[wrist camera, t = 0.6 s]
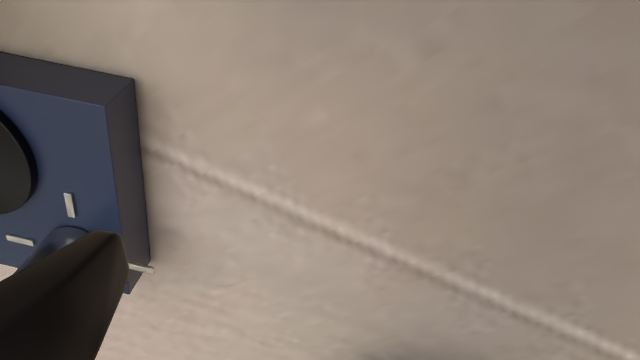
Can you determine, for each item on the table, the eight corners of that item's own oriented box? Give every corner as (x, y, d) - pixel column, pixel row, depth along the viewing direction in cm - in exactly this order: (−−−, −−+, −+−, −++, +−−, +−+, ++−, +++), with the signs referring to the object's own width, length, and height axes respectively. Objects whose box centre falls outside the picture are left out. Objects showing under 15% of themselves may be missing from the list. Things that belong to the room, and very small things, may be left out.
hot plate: (178, 285, 32) (158, 323, 30) (-30, 237, 33) (-63, 269, 31) (167, 85, 24) (139, 116, 22) (-101, 31, 25) (-152, 55, 23)
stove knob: (123, 254, 27) (78, 321, 24) (97, 288, 29) (52, 354, 26) (60, 214, 27) (4, 277, 23) (37, 251, 28) (-17, 315, 25)
